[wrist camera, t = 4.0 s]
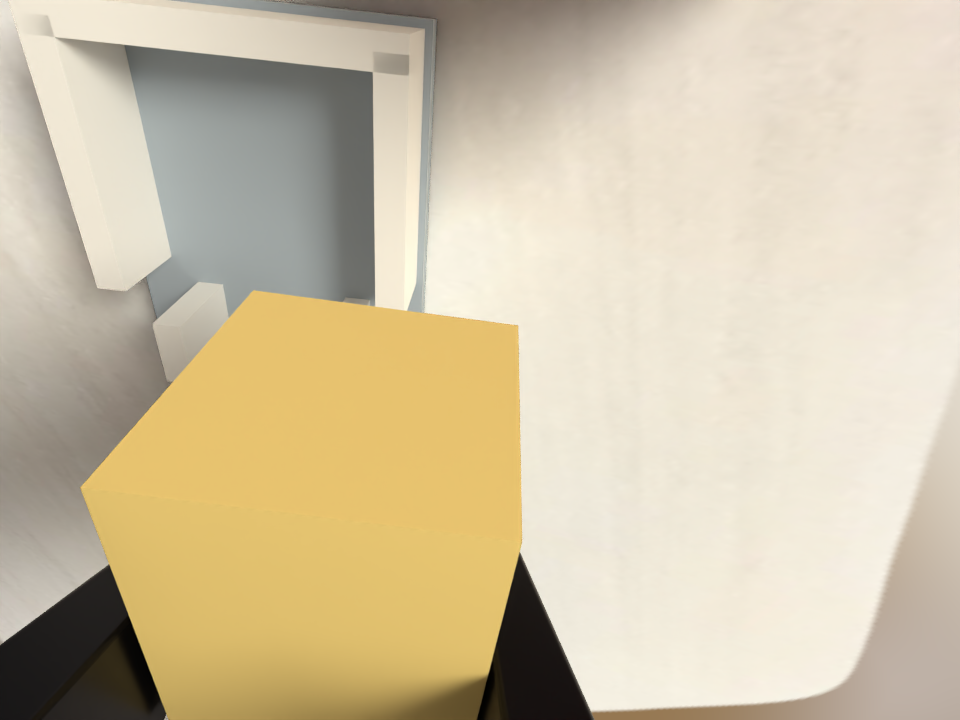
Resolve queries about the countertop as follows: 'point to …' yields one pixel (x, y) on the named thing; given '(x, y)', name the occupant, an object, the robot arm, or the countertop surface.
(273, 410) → the cable
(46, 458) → the countertop surface
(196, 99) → the board
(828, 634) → the countertop surface
